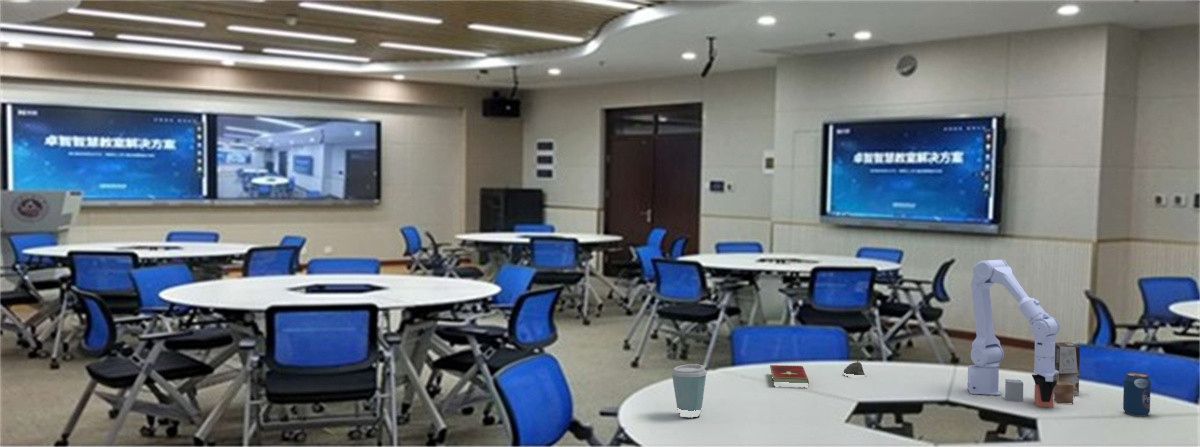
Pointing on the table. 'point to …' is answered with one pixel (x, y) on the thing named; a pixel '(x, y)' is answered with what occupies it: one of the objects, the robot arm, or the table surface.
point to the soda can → (1136, 394)
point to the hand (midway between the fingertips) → (1043, 399)
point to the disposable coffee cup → (689, 386)
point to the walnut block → (1063, 392)
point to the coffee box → (1067, 364)
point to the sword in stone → (855, 367)
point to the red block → (1038, 398)
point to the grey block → (1013, 390)
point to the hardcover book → (789, 374)
